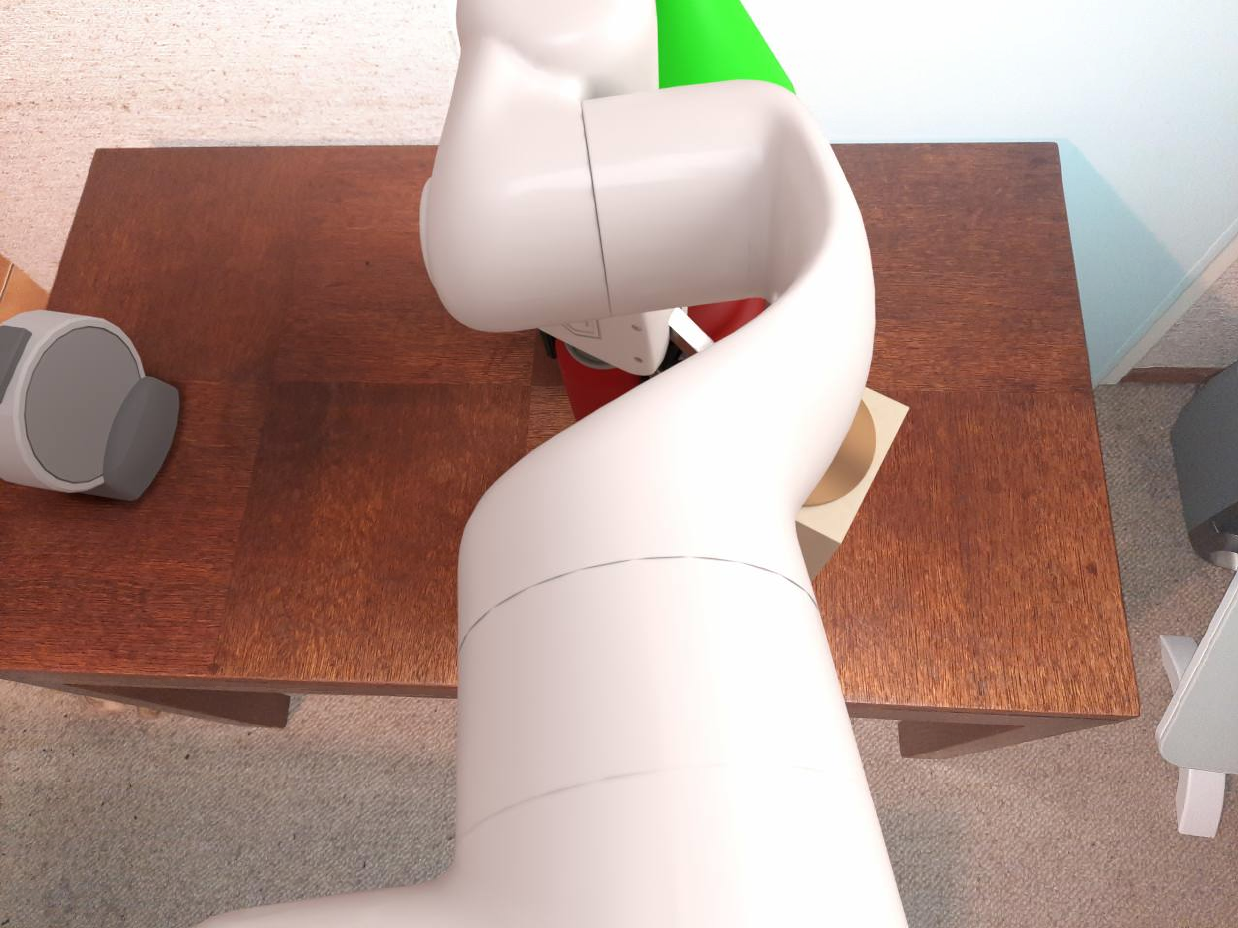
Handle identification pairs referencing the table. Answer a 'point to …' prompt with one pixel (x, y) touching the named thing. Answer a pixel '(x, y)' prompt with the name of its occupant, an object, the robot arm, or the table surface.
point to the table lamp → (704, 53)
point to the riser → (831, 521)
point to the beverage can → (591, 380)
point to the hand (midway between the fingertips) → (610, 363)
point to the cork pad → (848, 461)
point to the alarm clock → (80, 407)
